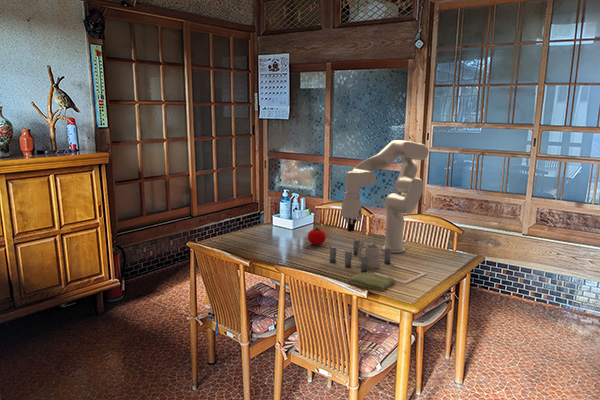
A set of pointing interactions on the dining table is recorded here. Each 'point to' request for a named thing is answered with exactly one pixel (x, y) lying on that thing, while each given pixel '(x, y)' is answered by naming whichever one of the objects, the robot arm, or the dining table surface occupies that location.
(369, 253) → the mug
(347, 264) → the posts
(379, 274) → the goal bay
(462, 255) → the dining table surface
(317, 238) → the tomato
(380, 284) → the washcloth
